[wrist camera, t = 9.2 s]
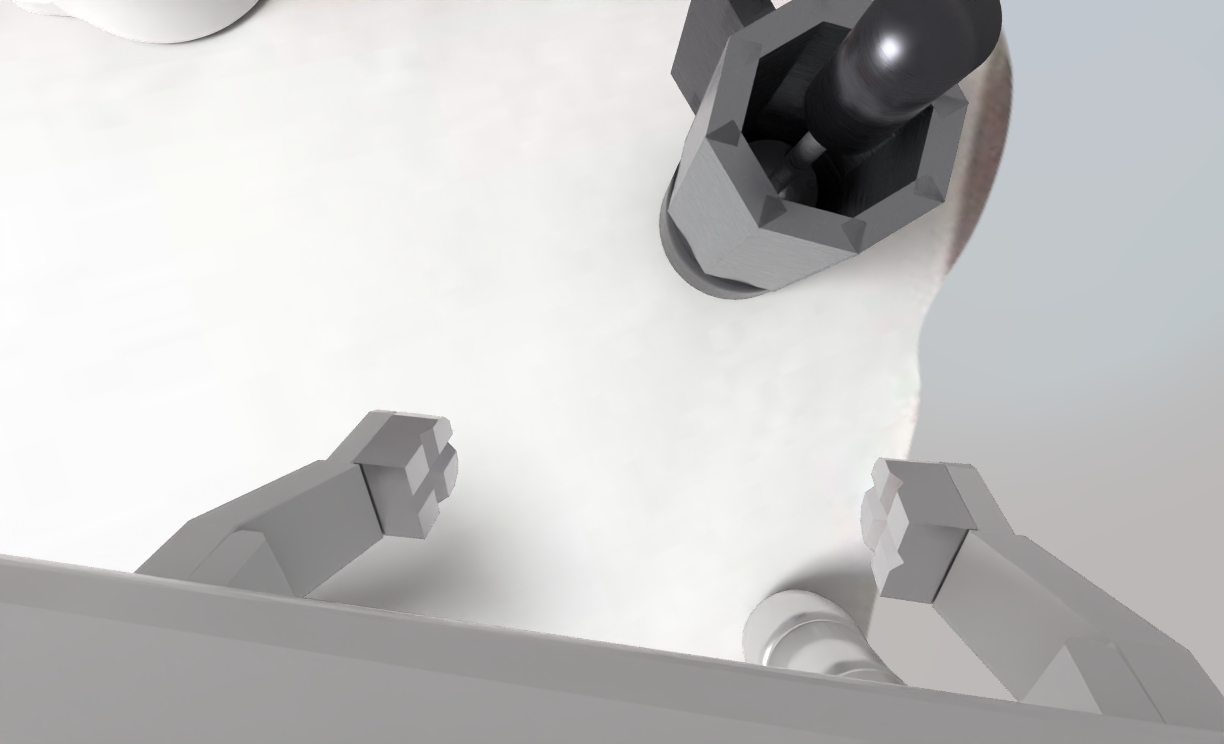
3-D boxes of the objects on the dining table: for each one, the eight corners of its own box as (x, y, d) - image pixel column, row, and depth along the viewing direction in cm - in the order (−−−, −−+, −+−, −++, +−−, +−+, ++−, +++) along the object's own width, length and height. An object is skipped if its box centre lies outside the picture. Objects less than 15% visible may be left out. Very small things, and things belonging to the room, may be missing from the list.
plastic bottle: (732, 579, 34) (943, 875, 14) (840, 576, 34) (1200, 861, 14) (733, 685, 34) (946, 1134, 14) (842, 681, 34) (1203, 1114, 14)
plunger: (697, 175, 28) (809, -22, 14) (781, 126, 28) (973, -118, 14) (748, 261, 28) (909, 149, 14) (831, 211, 28) (1070, 52, 14)
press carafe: (603, 149, 34) (615, -10, 20) (731, 74, 34) (834, -135, 20) (708, 327, 34) (795, 295, 20) (835, 251, 34) (1008, 166, 20)
